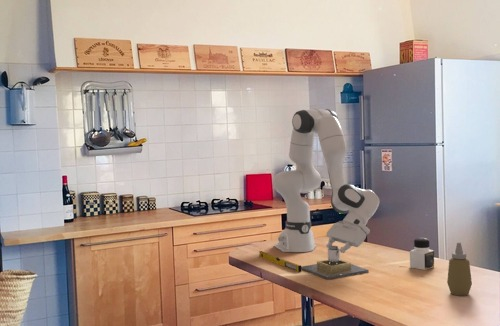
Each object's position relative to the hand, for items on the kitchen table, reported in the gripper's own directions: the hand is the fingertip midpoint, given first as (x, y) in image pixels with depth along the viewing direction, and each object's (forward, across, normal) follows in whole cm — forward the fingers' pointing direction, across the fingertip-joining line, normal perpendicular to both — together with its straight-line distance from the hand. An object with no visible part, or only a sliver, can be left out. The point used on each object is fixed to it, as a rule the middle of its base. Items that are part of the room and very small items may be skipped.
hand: (334, 249), depth 233 cm
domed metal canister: (+6, 0, +5) cm, 8 cm away
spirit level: (+16, -22, -3) cm, 28 cm away
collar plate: (+7, 0, +6) cm, 9 cm away
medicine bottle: (-17, +16, +29) cm, 37 cm away
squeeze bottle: (-6, +50, +18) cm, 54 cm away
